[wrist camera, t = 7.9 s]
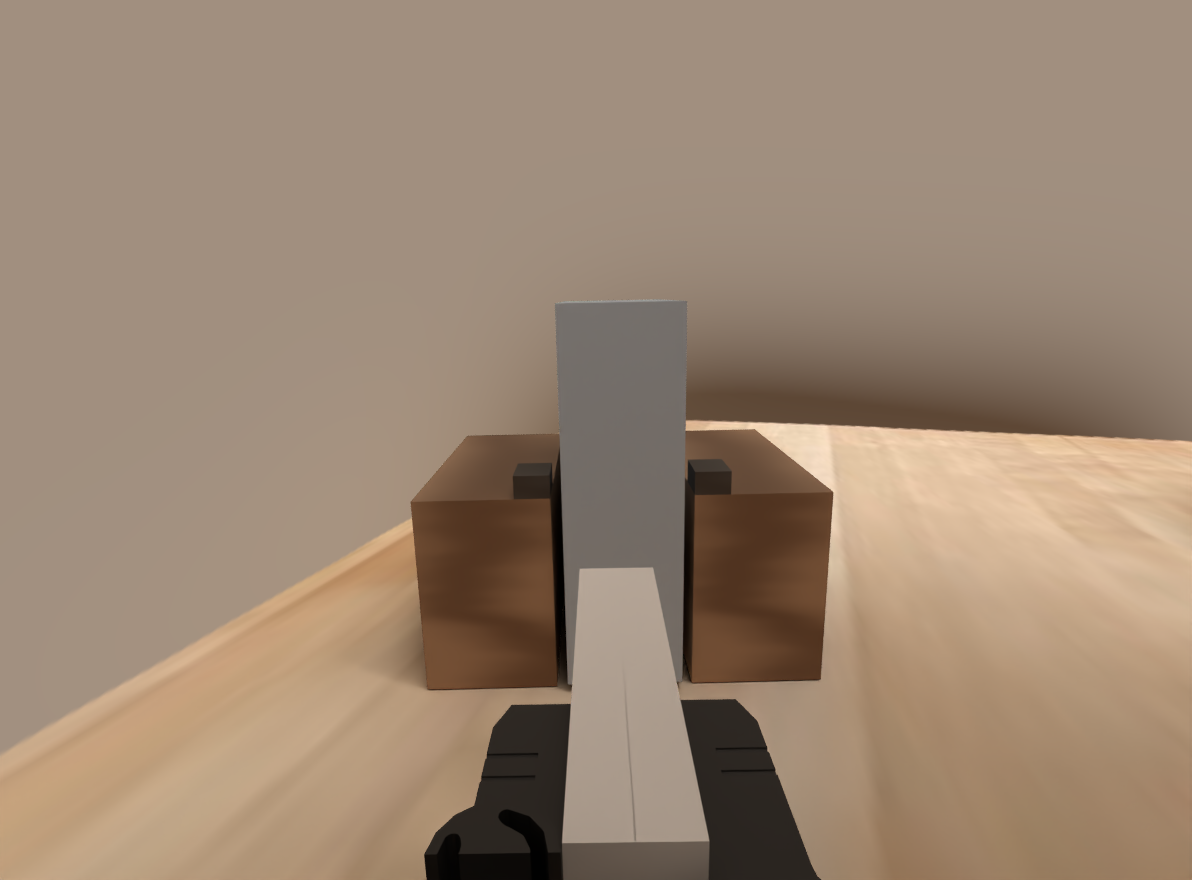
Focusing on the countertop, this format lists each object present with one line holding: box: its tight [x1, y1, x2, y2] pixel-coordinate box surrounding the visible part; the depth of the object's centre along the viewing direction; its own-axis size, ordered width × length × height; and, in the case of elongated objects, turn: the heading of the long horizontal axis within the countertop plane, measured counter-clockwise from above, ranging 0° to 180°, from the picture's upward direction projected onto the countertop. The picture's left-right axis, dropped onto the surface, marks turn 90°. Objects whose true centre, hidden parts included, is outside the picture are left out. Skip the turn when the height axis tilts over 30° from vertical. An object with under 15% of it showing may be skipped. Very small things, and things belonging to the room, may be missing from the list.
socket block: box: [411, 429, 833, 689], centre depth 26 cm, size 14×10×8 cm
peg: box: [555, 300, 687, 684], centre depth 24 cm, size 4×8×13 cm, turn 1°
